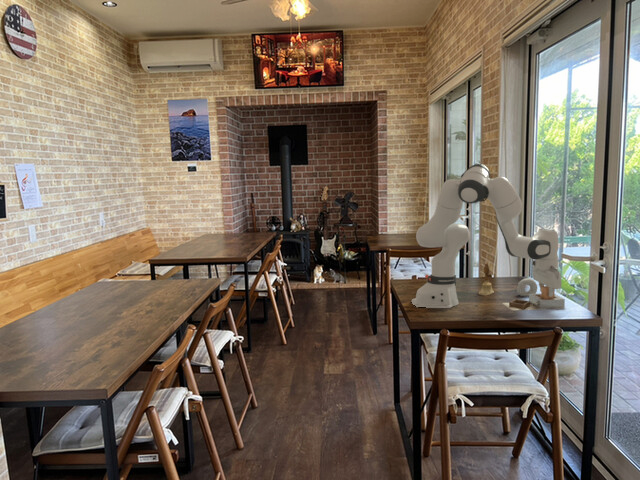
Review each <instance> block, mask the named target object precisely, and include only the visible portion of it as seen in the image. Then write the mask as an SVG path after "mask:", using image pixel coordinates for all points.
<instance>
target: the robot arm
mask: <svg viewBox="0 0 640 480" xmlns="http://www.w3.org/2000/svg"><path fill="white" fill-rule="evenodd" d="M460 177H461V178H459V179H456V178H455V179H454V178H450V179H448V180H446V181H444V182H443V184H442V187H441V189H440V191H439V195H438V198H437V203H436V207H435V211H434V214H433V215H432V217H431V218H430V219H429V220H428V221H427V222H426V223H425V224H423V225H421V226H419V228H418V229H417V230H416V235H415V238H416V242H417V244H418V245H419V246H420V247H424V248H441V251H439V253H437V254H435V255H434V256H433V257H432V259H431V265H430V266H431V274H430V275H429V274H425V275H424V277H425V280H427V282H426V283H425V284H424V285H422V286H421V287H420V288H418V289H417V291H416V294H415V298H413V299H411V302H412V303H411V305H412V304H413V305H415V306H416V307H415V306H414V307H415V308H418V307H426V308H425V309H451V308H453V307H456V306H458V305H459V299H458V295H457V290H456V289H457V275H456V261H457V260H456V259H457V256H458V254H459V252H460V250H461V249H462V248H463V247H464V246H465V245H466V244H467V243H468V242H469V240H470V238H471V231H470V230H469V228H468V226H467V225H465V224H462V223H457V222H458V220H459V219H460V217H461V213H462V209H463V204H464V203H465V204H476V203H481V202H482V203H483V202H486V200H487V199H488V201H489V202H490V204H491V205H492V208H493V209H494V211H495V219H496V222H497V224H498V228H499V230H500V232H501V235H502V237H503V240H504V242H505V243H504V244H505V249H506V252H507V254H508V255H509V256H511V257H513V258H515V257H517V258H522V259H529V260H532V261H531V265H532V278H533V280H534V281H535V282H538V287H539V293H541V288H542V286H548V287H549V292H548V296H550V297H553V293H554V291H555V290H561V288H562V274H561V272H560V270H559V256H558V251H559V249H560V248H559V246H560V245H559V241H560V240H559V235H558V232H557V231H556V230H555V229H549V228H539V229H538V231H537V232H536V233H535V234H534V235H531V236H525V235H522V234H520V233H519V232H518V231H517V229H516V226H515V224H514V222H513V220H515V219H516V218H517V217H519V215H521V213H522V211H523V208H524V205H523V201H522V199H521V197H520V196H519V193H518V192H517V190H516V189H515V187H514V186H513V185H512V183H511V182H510V181H509V179H507V178H506V177H504V176H497V177H494V178H491V172H490V170H489V168H488V166H486V165H485V164H482V163H476V164H473V165H471V166H470V167H469V168H468V167H467V169H466V170H465V171H464V172H463V173H462V174H461V175H460ZM554 294H555V293H554ZM413 305H412V306H413Z"/></svg>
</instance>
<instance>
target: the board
mask: <svg viewBox="0 0 640 480" xmlns="http://www.w3.org/2000/svg"><path fill="white" fill-rule="evenodd" d="M501 304H502V305H503V306H505V307H506V308H508V309H509V310H511V311H512V312H513V311H529V310H531V311H533V310H535V311H536V310H540V309H539V308H537V307H536V306H534V305H532V304H531V303H530V306H529V307H527V308H525V309H521V308H515V307H509V302H502V303H501ZM559 309H561V310H562V309H563V308H551V309H550V310H559Z"/></svg>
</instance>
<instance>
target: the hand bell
mask: <svg viewBox="0 0 640 480" xmlns="http://www.w3.org/2000/svg"><path fill="white" fill-rule="evenodd" d="M483 273H484V282H483V283H482V285H481V289H480V290H479V291H478V295H480V296H483V297H484V296H485V297H486V296H488V295H492V294H493V293H495V291H494V290H493V287H492V283H491V282H490V280H489V275H490V274H489V273H490V267H489V263H485V264H484V267H483Z"/></svg>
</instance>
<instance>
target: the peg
mask: <svg viewBox="0 0 640 480" xmlns="http://www.w3.org/2000/svg"><path fill="white" fill-rule="evenodd" d="M548 292H549V287H548V286H546V285H544V286H542V288H541V292H540V293H541V298H542V299H551V298H554V294H555V291H554V293H553V297H550V296H548Z"/></svg>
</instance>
